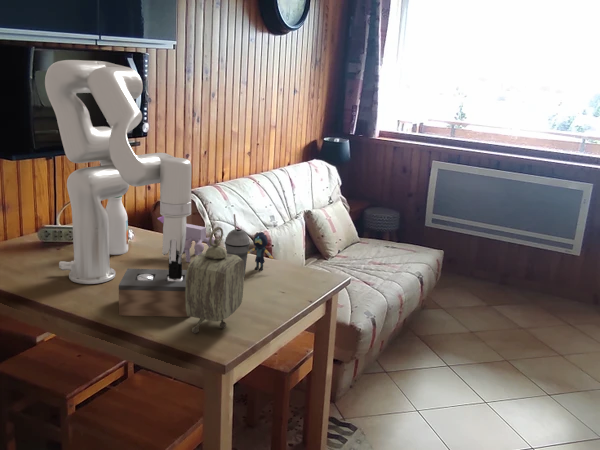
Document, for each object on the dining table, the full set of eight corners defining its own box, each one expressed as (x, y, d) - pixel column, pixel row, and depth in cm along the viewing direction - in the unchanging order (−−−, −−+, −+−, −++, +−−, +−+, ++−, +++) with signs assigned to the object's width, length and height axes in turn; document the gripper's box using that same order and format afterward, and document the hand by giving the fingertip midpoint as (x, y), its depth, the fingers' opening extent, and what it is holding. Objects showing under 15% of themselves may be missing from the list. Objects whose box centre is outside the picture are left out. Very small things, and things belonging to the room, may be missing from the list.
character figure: (242, 268, 188) (244, 231, 185) (249, 264, 192) (250, 228, 189) (269, 274, 185) (271, 236, 182) (275, 270, 189) (277, 233, 185)
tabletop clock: (211, 312, 156) (213, 218, 149) (243, 318, 153) (247, 223, 147) (184, 335, 142) (185, 233, 136) (220, 342, 140) (223, 239, 133)
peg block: (119, 315, 150) (118, 285, 148) (128, 296, 162) (127, 268, 160) (190, 316, 152) (191, 287, 150) (194, 298, 164) (194, 270, 162)
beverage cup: (244, 286, 174) (247, 219, 169) (220, 283, 175) (222, 216, 170) (251, 277, 181) (254, 213, 176) (228, 274, 182) (230, 210, 177)
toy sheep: (146, 255, 195) (147, 213, 192) (166, 248, 204) (167, 208, 201) (199, 266, 187) (201, 224, 184) (217, 259, 197) (219, 218, 194)
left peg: (136, 307, 155) (135, 279, 152) (138, 301, 158) (138, 273, 156) (152, 307, 155) (152, 279, 153) (154, 301, 159) (154, 274, 157)
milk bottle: (124, 256, 193) (123, 194, 187) (100, 254, 193) (98, 193, 187) (131, 248, 200) (130, 189, 195) (107, 247, 200) (106, 187, 195)
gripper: (164, 200, 157) (164, 267, 162) (156, 215, 143) (156, 288, 148) (193, 201, 158) (192, 268, 163) (188, 216, 144) (187, 288, 149)
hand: (175, 277), depth 155 cm, fingers closed
